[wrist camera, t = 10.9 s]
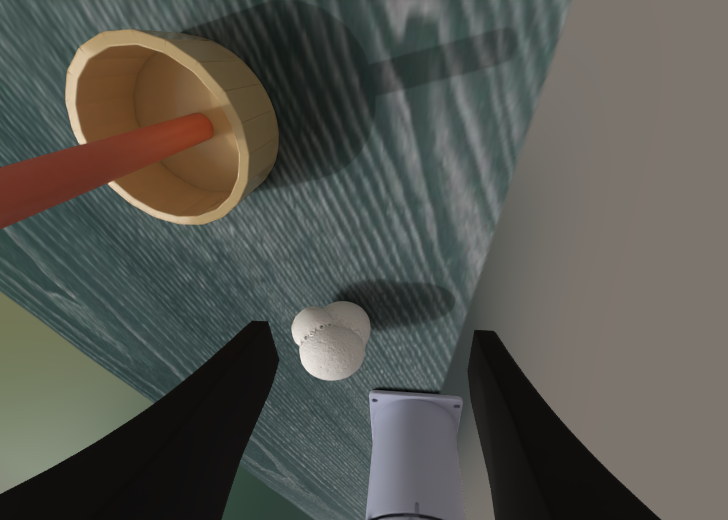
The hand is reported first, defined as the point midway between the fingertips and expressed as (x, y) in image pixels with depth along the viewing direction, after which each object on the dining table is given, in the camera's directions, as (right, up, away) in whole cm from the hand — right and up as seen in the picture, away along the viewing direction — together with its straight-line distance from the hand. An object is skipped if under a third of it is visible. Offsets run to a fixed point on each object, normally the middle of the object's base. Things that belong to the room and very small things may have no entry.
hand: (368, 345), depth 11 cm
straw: (-9, +10, +6) cm, 15 cm away
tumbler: (-9, +10, +6) cm, 15 cm away
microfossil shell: (-2, -1, +13) cm, 13 cm away
